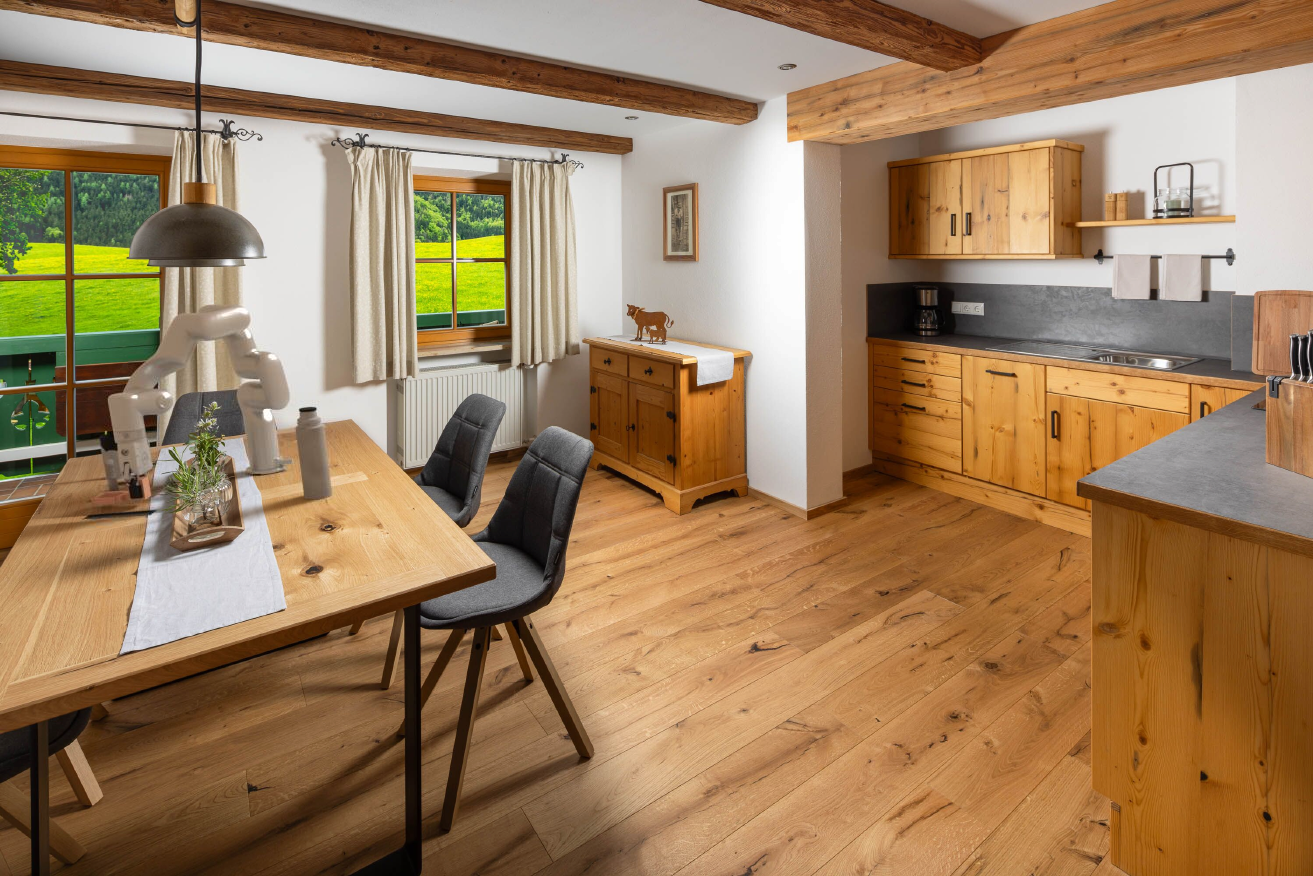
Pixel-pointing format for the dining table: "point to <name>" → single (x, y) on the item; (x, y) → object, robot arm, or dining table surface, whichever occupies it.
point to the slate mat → (120, 514)
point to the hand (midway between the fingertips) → (140, 495)
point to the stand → (114, 485)
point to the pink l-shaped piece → (122, 494)
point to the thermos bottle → (313, 455)
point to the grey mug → (111, 452)
